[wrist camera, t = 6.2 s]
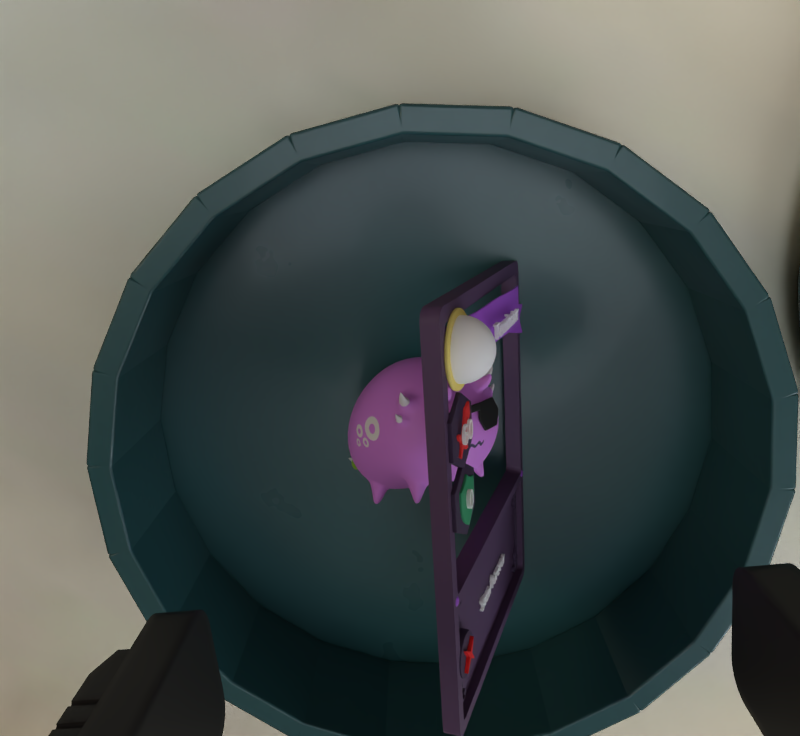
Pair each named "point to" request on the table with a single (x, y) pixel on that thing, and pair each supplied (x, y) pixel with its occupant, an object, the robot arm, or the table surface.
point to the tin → (541, 444)
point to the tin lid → (799, 293)
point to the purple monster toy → (455, 469)
